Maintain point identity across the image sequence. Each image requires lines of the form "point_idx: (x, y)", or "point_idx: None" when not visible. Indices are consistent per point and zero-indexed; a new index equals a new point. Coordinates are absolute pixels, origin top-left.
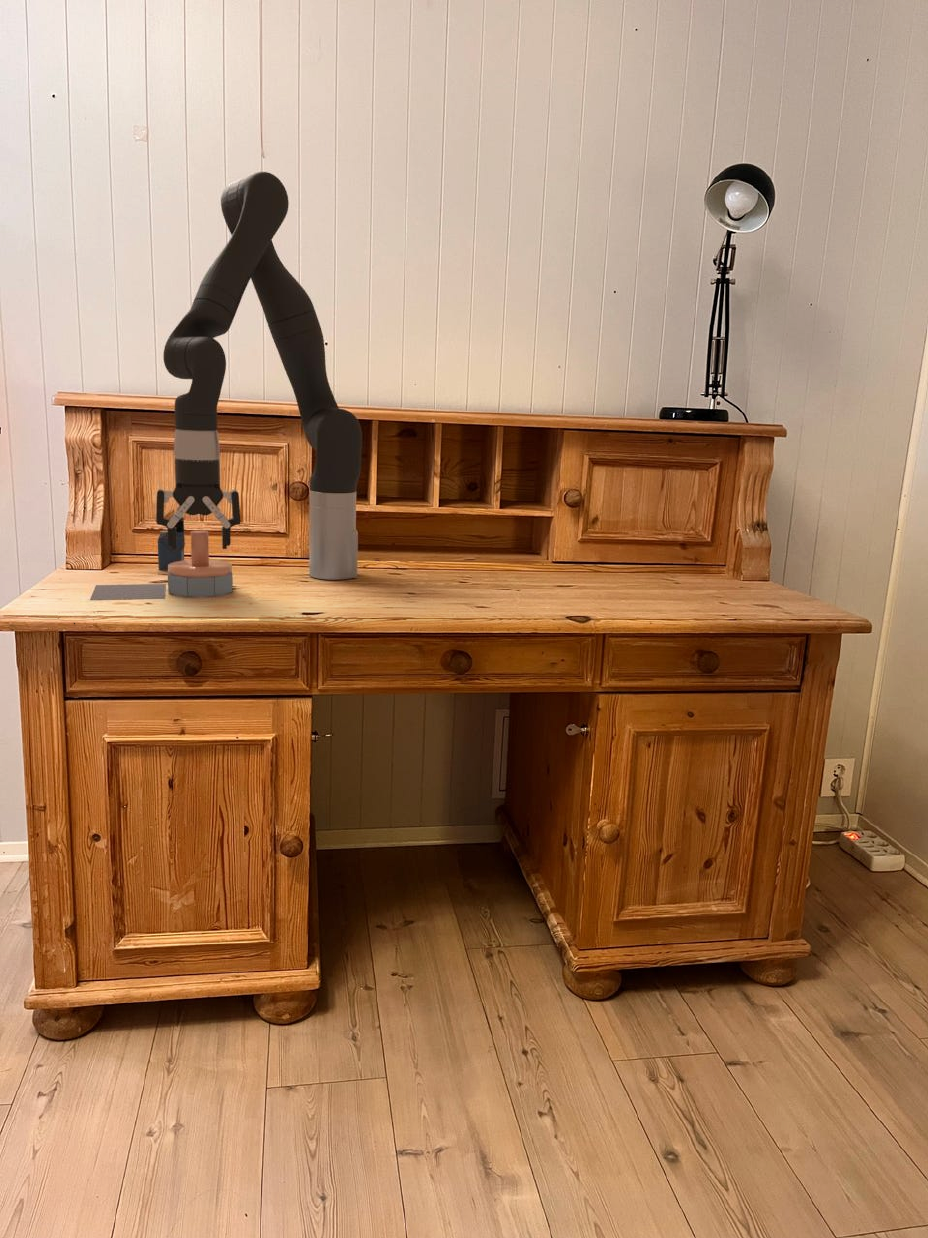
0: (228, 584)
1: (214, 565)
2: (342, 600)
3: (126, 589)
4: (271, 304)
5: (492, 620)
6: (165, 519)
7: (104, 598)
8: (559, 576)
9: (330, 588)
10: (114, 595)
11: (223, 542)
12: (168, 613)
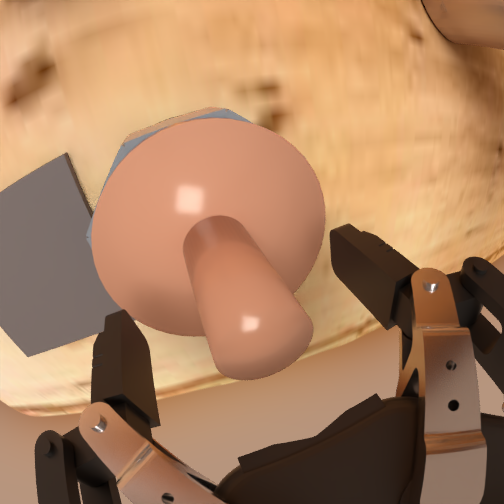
0: None
1: (268, 236)
2: (447, 204)
3: (12, 260)
4: None
5: (496, 256)
6: (115, 476)
7: (38, 343)
8: None
9: (448, 110)
10: (34, 320)
11: (351, 287)
12: (192, 369)
